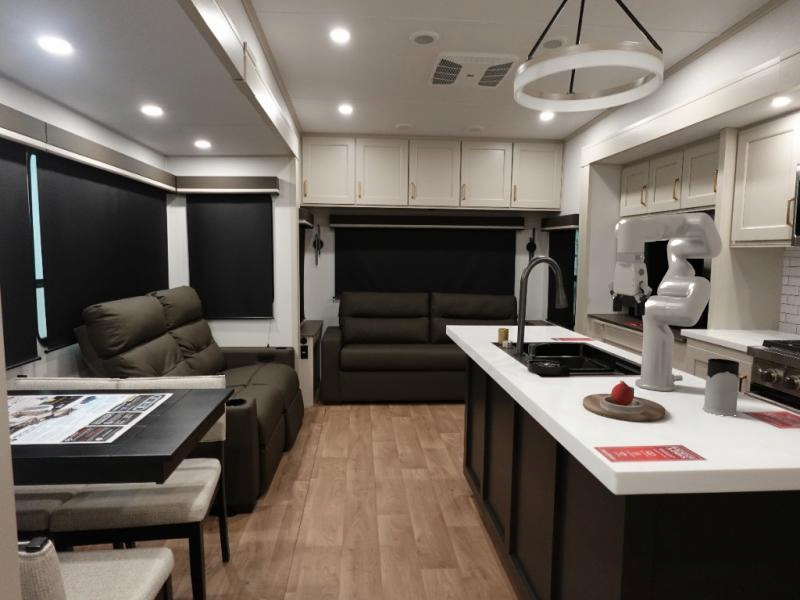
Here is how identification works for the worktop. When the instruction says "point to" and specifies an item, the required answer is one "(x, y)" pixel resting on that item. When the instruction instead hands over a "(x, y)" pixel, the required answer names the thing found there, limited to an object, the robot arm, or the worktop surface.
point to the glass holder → (721, 387)
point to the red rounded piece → (622, 394)
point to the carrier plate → (643, 417)
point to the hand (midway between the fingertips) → (628, 313)
